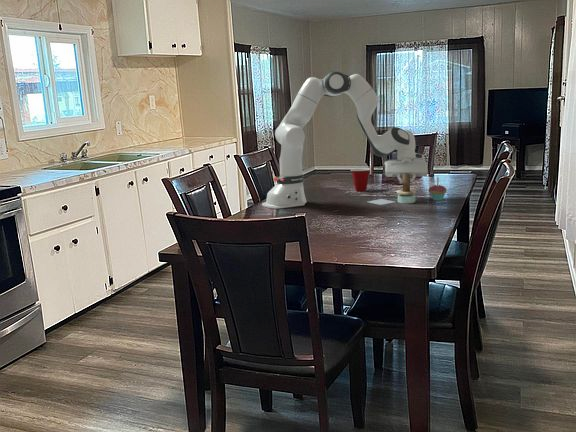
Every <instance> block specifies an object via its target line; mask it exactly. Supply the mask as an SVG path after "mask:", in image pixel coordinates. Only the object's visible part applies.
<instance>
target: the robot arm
mask: <svg viewBox="0 0 576 432" xmlns="http://www.w3.org/2000/svg"><path fill="white" fill-rule="evenodd" d="M341 94H346V95H347V96H349V98H350V99H351V101H352V102H353V104H354V105H355V107H356V111H357V113H356V118H357V121H358V123H359V125H360V127H361V128H362V130H363V133H364V134H365V138H367V141H368V143H369V145H370V148H371V151H372V153H373V154H374V155H375V156H377V157H380V158H385V157H386V156H388V155H389V154H390V153H392V152H393V151H395V150H396V151H397V154H396V155H397V156H396V158H397V159H387V160H385V161H384V168H385V169H384V172H385V173H384V175H385V176H386V177H387V178H388V177H392V178H395V177H396V178H397V180H398V181H399V184H403V174H410V184H414V181H415V179H416V177H427V176H428V174H429V170H428V169H429V168H428V163H427V161H426V159H425V158H426V157H425V154H423V153H417V152H416V138H415V134H414V133H413V132H412V131H411V130H409V129H403V128H400V127H396V126H395V127H392V128H390V129H388V130H387V131H385V132H384V133H382V134H381V135H378V132H377V131H376V129H375V127H374V125H373V123H372V116H373V114H374V112H375V110H376V109H377V106H378V101H379V98H378V95H377V93H376V92H375V90H374V89H373V87H372V86H371V84H370V83H369V82H368V81H367V80H366V79H365V78H364V77H363V76H362V75H361V74H358V73H354V74H352V75H350V76H349V75H347V74H345V73H344V72H343V73H342V72H341V71H336V70H335V71H331V72H329V73H328V74H327V75H325V77H323V78H322V79H321V78H317V77H314V76H312V77H311V76H309V77H308V78H307V79H306V80H305V81H304V82H303V84H302V86H301V87H300V89H299V90H298V92H297V94H296V96H295V98H294V100H293V103H292V104H291V105H290V108H289V110H288V111H287V113H286V114H285V115H284V117H283V119H282V120H281V121H280V124H279V125H278V126H277V128H276V129H275V130H274V136H275V139H276V141H277V143H279V144H280V145H281V147H280V155H279V162H278V163H279V176H273V181H276V182H277V183H276V184H275V185H274V186H273V187H272V188H271V189H270V190H269V191H268V192H267V194H266V200H265V202H262V203H261V205H262V206H263V207H264V208H268V209H275V210H278V209H285V208H293V207H294V208H295V207H301V206H305V204H306V203H307V202H308V201H307V199H306V194H305V191H304V190H305V189H304V174H303V150H304V142H305V139H306V135H305V134H306V133H305V132H304V130H303V129H304V127H305V126H306V125H307V124H308V122H310V120H312V117H313V115H314V113H315V111H316V109H317V107H318V105H319V103H320V100H321V99H322V98H323V97H324V96H325V97H328V98H329V97H331V98H335V97H338V96H339V95H341Z"/></svg>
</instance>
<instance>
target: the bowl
mask: <svg viewBox="0 0 576 432" xmlns="http://www.w3.org/2000/svg"><path fill="white" fill-rule="evenodd" d="M397 202H398V203H400V204H413V203H416V194H409V195H403V194H397Z"/></svg>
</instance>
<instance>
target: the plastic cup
mask: <svg viewBox="0 0 576 432" xmlns="http://www.w3.org/2000/svg"><path fill="white" fill-rule="evenodd" d="M370 171H371V168H351V169H350V172H351V175H352V180H353V185H354V189H355V191H356V192H366V191H367V188H368V184H369V177H370V176H369V175H370Z"/></svg>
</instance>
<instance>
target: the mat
mask: <svg viewBox="0 0 576 432" xmlns="http://www.w3.org/2000/svg"><path fill="white" fill-rule="evenodd" d="M367 203H370V204H375V205H379V206H383V205H387V204H392V203H396V201H394V200H389V199H384V198H378V199H374V200H369V201H367Z"/></svg>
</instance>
